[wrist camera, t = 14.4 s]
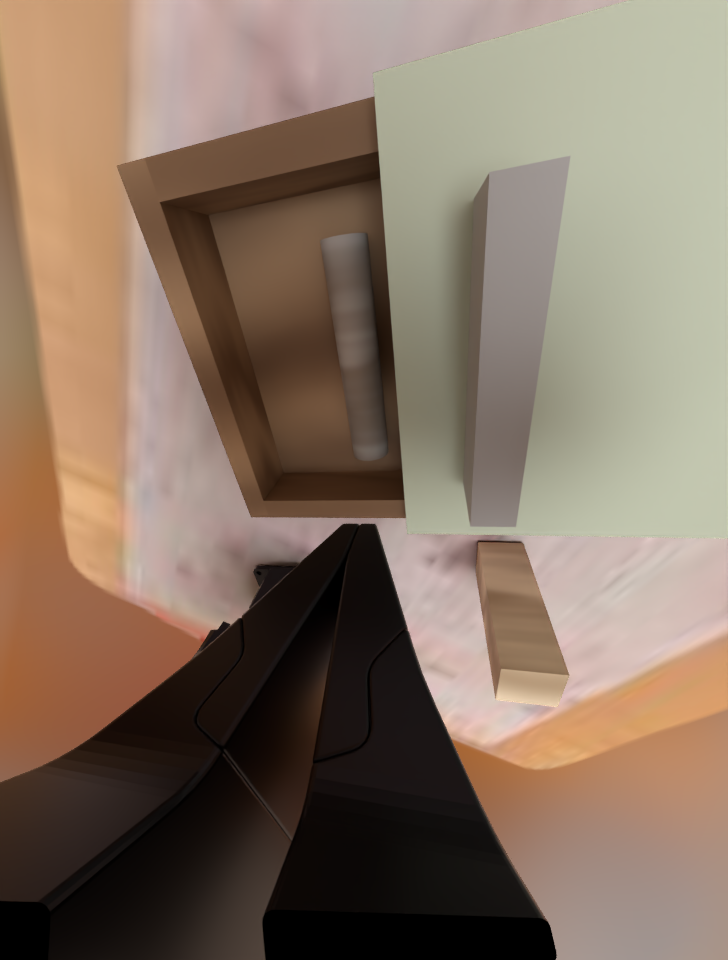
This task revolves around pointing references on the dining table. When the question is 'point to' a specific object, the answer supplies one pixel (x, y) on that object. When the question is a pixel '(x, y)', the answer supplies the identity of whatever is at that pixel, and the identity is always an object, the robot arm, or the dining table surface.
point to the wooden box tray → (285, 306)
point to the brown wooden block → (518, 628)
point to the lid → (563, 275)
